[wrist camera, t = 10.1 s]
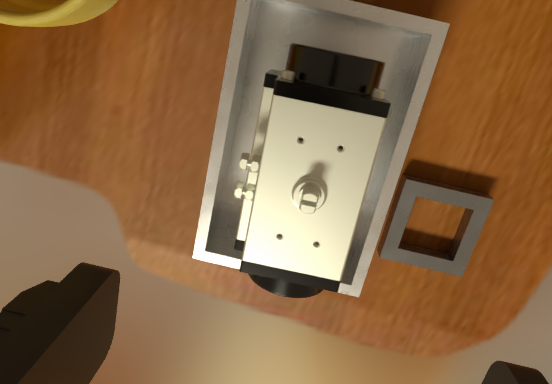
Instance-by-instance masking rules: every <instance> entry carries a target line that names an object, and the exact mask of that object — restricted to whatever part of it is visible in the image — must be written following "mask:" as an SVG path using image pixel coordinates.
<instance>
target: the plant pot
mask: <svg viewBox="0 0 552 384" xmlns="http://www.w3.org/2000/svg"><path fill="white" fill-rule="evenodd" d="M117 1H118V0H0V23H3V24H8V25H15V26H32V27H52V26H65V25H73V24H77V23H81V22H84V21H87V20H90V19H92V18H95V17H97V16H98V15H100V14H102V13H104V12H105V11H107V10H108V9H109V8H111V7H112V6H113V5H114V4H115V3H116V2H117Z"/></svg>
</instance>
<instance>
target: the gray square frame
mask: <svg viewBox="0 0 552 384" xmlns="http://www.w3.org/2000/svg"><path fill="white" fill-rule="evenodd" d="M416 196H417V197H421V198H425V199H429V200H434V201H438V202H442V203H446V204H451V205H455V206H459V207H464V208H466V210H465V213H464V215H463V218H462V220H461V223H460V225H459V228H458V230H457V233H456V235H455V238H454V240H453V243H452V245H451V248H450V250H449V253H444V252H440V251H435V250H431V249H427V248H423V247H418V246H414V245H410V244H405V243H401V242H400V241H401V238H402V235H403V232H404V229H405V226H406V224H407V221H408V218H409V215H410V212H411V209H412V207H413V204H414V201H415V198H416ZM493 202H494V199H493V198H492V197H491V196H489V195H488V194H486V193H482V192H477V191H473V190H469V189H465V188H460V187H456V186H452V185H448V184H443V183H439V182H435V181H430V180H426V179H422V178H418V177H413V176H409V175H405V174H403V175H402V178H401V181H400V184H399V187H398V190H397V193H396V196H395V199H394V202H393V205H392V208H391V211H390V214H389V217H388V220H387V223H386V225H385V228H384V231H383V234H382V237H381V240H380V243H379V246H378V249H377V250H378V254H379V257H380V258H384V259H389V260H393V261H397V262H401V263H406V264H410V265H414V266H418V267H423V268H427V269H431V270H435V271H440V272H444V273H448V274H452V275H457V276H461V277H462V275H463V273H464V271H465V268H466V266H467V264H468V261H469V259H470V256H471V254H472V252H473V249H474V247H475V245H476V242H477V240H478V237H479V235H480V233H481V230H482V228H483V226H484V223H485V221H486V218H487V216H488V214H489V211H490V209H491V207H492V204H493Z"/></svg>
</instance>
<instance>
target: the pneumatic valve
mask: <svg viewBox="0 0 552 384" xmlns="http://www.w3.org/2000/svg"><path fill="white" fill-rule="evenodd" d="M384 67H385V62H383V61H379V60H375V59H370V58H366V57H361V56H356V55H351V54H347V53H342V52H337V51H332V50H327V49H323V48H318V47H313V46H308V45H303V44H297V43H291V44H290V48H289V53H288V58H287V63H286V68H285V70H282V71H279V70H274V69H271V70H269V71H268V72H266V73H265V79H264V84H263V90H262V95H261V101H260V106H259V112H258V117H257V123H256V129H255V134H254V140H253V145H252V151H251V156H250V154H249V153H245V152H244V153H242V155H241V159H240V164H239V170H241V171H246V170H247V167H249V168H248V173H247V179H246V184H245V183H244V182H241V181H238V182H237V184H236V188H235V193H234V198H236V199H241V198H242V195H243V201H242V206H241V212H240V218H239V223H238V229H237V234H236V240H235V245H234V249H235V250H239V251H243V254H242V260H241V265H240V270H239V271H240V272H244V273H248V274H249V276H250V278H251V279H252V280H253V281H254V282H255V283H256V284H257V285H258V286H260V287H261V288H263V289H265V290H267V291H269V292H271V293H274V294H277V295H280V296H284V297H290V298H306V297H311V296H314V295H317V294H319V293H320V292H321V291H322V290H323V289H324V290H328V291H333V292H338V290H339V286H340V283H341V279H342V276H343V272H344V268H345V265H346V261H347V258H348V254H349V251H350V247H351V244H352V240H353V237H354V233H355V230H356V226H357V222H358V219H359V215H360V212H361V208H362V205H363V201H364V198H365V194H366V191H367V187H368V184H369V180H370V176H371V173H372V169H373V166H374V162H375V159H376V155H377V152H378V148H379V145H380V141H381V138H382V134H383V130H384V127H385V123H386V120H387V116H388V113H389V109H390V106H391V103H390V102H389V101H387V100H386V99H385V98H384V96H385V91H384V90H380V89H379V85H380V82H381V78H382V74H383V71H384ZM249 157H250V159H249ZM244 185H245V187H244Z"/></svg>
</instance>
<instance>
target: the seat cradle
mask: <svg viewBox="0 0 552 384" xmlns="http://www.w3.org/2000/svg"><path fill="white" fill-rule="evenodd" d="M449 25H450V24H449V23H445V22H441V21H437V20H432V19H428V18H424V17H419V16H415V15H411V14H407V13H402V12H398V11H394V10H389V9H385V8H381V7H376V6H372V5H368V4H364V3H359V2H355V1H351V0H237V3H236V9H235V15H234V21H233V26H232V32H231V38H230V44H229V50H228V55H227V61H226V67H225V73H224V79H223V84H222V90H221V96H220V102H219V108H218V113H217V119H216V125H215V131H214V137H213V142H212V148H211V154H210V160H209V166H208V171H207V177H206V183H205V189H204V195H203V200H202V206H201V212H200V218H199V224H198V229H197V235H196V241H195V247H194V253H193V258H194V259H198V260H202V261H207V262H211V263H215V264H219V265H224V266H228V267H232V268H237V269H240V265H241V260H242V254H243V251H239V250H235V249H234V245H235V240H236V234H237V229H238V223H239V218H240V212H241V206H242V201H243V195H242V198H241V199H236V198H234V193H235V188H236V184H237V182H238V181H241V182H244V183H245V184H246V179H247V173H248V168H249V167H247V170H246V171H241V170H239V164H240V159H241V155H242V153H244V152H245V153H249V154H250V156H251V151H252V145H253V140H254V134H255V129H256V123H257V117H258V112H259V106H260V101H261V95H262V90H263V84H264V79H265V73H266V72H268V71H269V70H271V69H274V70H279V71H282V70H285V68H286V63H287V58H288V53H289V48H290V44H291V43H297V44H303V45H308V46H313V47H318V48H323V49H327V50H332V51H337V52H342V53H347V54H351V55H356V56H361V57H366V58H370V59H375V60H379V61H383V62H385V67H384V71H383V74H382V78H381V82H380V85H379V89H380V90H384V91H385V96H384V98H385V99H386V100H387V101H389V102H390V103H391V106H390V109H389V113H388V116H387V120H386V123H385V127H384V130H383V134H382V138H381V141H380V145H379V148H378V152H377V155H376V159H375V162H374V166H373V169H372V173H371V176H370V180H369V184H368V187H367V191H366V194H365V198H364V201H363V205H362V208H361V212H360V215H359V219H358V222H357V226H356V230H355V233H354V237H353V240H352V244H351V247H350V251H349V254H348V258H347V261H346V265H345V268H344V272H343V276H342V279H341V283H340V286H339V290H338V292H339V293H343V294H347V295H351V296H356V297H359V295H360V292H361V289H362V286H363V283H364V280H365V277H366V274H367V271H368V268H369V265H370V262H371V259H372V256H373V253H374V250H375V247H376V244H377V241H378V238H379V235H380V232H381V229H382V226H383V223H384V220H385V217H386V214H387V211H388V208H389V205H390V202H391V199H392V196H393V193H394V190H395V187H396V184H397V181H398V178H399V175H400V172H401V169H402V166H403V163H404V160H405V157H406V154H407V151H408V148H409V145H410V142H411V139H412V136H413V133H414V130H415V127H416V124H417V121H418V118H419V115H420V112H421V109H422V106H423V103H424V100H425V97H426V94H427V91H428V88H429V85H430V82H431V79H432V76H433V73H434V70H435V67H436V64H437V61H438V58H439V55H440V52H441V49H442V46H443V43H444V40H445V37H446V34H447V31H448V28H449ZM249 159H250V157H249ZM244 187H245V185H244Z"/></svg>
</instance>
